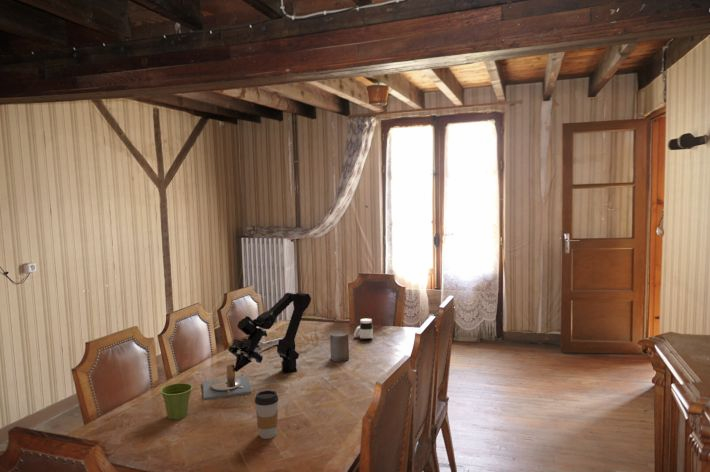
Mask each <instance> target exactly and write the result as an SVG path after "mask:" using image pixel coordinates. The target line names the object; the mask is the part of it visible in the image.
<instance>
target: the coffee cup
mask: <svg viewBox="0 0 710 472" xmlns="http://www.w3.org/2000/svg"><path fill="white" fill-rule="evenodd" d="M278 402H279V395H278V394H277V392H276V391H274V390H261V391H259V392H257V393H256V395H255V397H254V403H255V409H256V410H255V413H256V421H257V430H258V435H259V437H260V438H261V439H265V440H267V439H272V438H274V437H276V435H277V432H278V418H279V417H278V415H279V414H278V413H279V408H278V407H279V405H278V404H279V403H278Z"/></svg>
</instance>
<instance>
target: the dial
mask: <svg viewBox="0 0 710 472" xmlns="http://www.w3.org/2000/svg"><path fill="white" fill-rule="evenodd" d="M235 365H236V364H235ZM235 365H234V364H228V365H226V377H223V378H218V380H216V379H214V380H215V381H214V382H212V384H211V388H212V389H213V390H215V391H228V390H233V389H236V388H238V387H239V386H241V380H240V379H238V378H235V377H236V374H235V373H236V372H235Z"/></svg>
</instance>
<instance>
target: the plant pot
mask: <svg viewBox="0 0 710 472" xmlns="http://www.w3.org/2000/svg"><path fill="white" fill-rule="evenodd" d="M193 388H194V387H193V385H192V384H191V383H187V382H175V383H170V384H168V385H165V386H163V387H161V389H160V393H161V394H162V398H163V400H164V404H165V410H166V414H167V418H168V419H170V420H181V419H184V418H185V417H186V416H188V411H189V403H190V396H191V392H192V389H193Z"/></svg>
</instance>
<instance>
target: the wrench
mask: <svg viewBox="0 0 710 472" xmlns="http://www.w3.org/2000/svg"><path fill="white" fill-rule="evenodd" d="M283 338H284V337H279V338H276V339H272V340H268V341H263V342H261V341H260V342H259V344H258V345H259V348H256V349H255V352H257V353H258V354H260V352H261V351H262V350H264V349H266V348H268V347H272V346H277V345H278V343H279V340H280V339H281V340H282V339H283Z"/></svg>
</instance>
